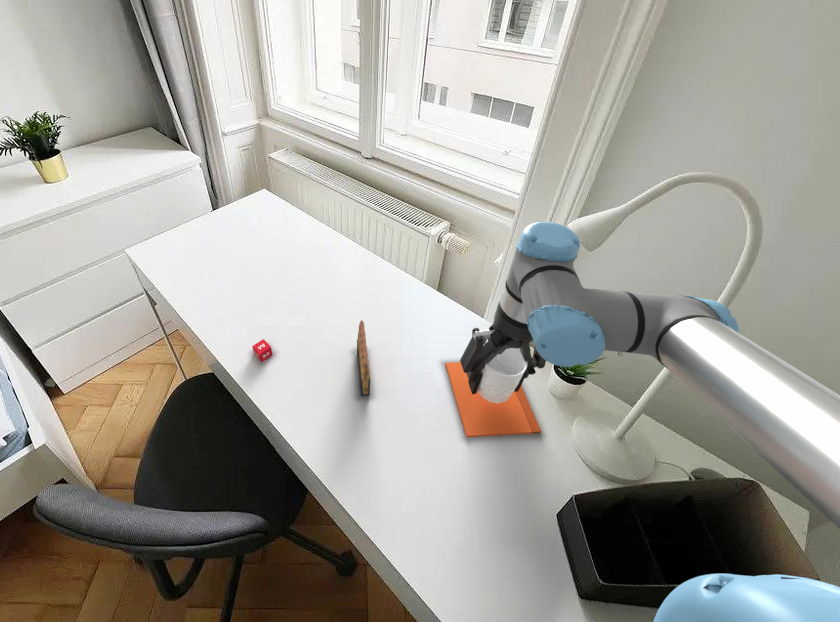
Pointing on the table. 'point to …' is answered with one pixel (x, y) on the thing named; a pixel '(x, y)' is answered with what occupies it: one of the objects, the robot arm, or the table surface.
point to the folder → (490, 409)
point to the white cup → (502, 375)
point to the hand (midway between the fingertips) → (492, 386)
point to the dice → (262, 350)
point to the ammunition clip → (363, 361)
